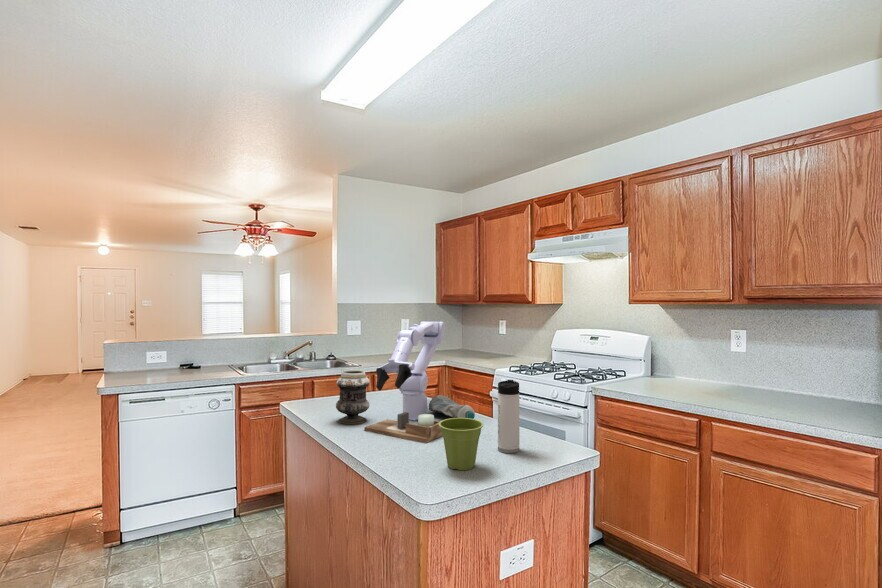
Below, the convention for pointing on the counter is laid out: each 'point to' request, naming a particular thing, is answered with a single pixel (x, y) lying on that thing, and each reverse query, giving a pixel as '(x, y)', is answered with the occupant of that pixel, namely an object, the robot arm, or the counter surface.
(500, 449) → the travel mug
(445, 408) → the detergent
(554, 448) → the counter surface
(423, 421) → the grey-headed mallet
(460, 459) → the plant pot
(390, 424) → the shelf lane
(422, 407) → the robot arm
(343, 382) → the dark footed vase
